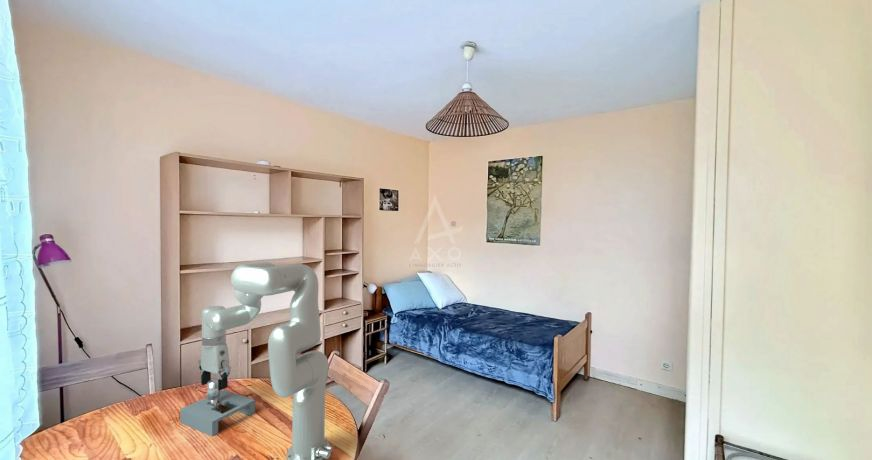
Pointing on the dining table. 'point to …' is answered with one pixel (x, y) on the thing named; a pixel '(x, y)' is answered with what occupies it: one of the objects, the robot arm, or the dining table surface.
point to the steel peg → (213, 393)
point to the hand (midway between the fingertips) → (214, 386)
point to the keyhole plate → (205, 416)
